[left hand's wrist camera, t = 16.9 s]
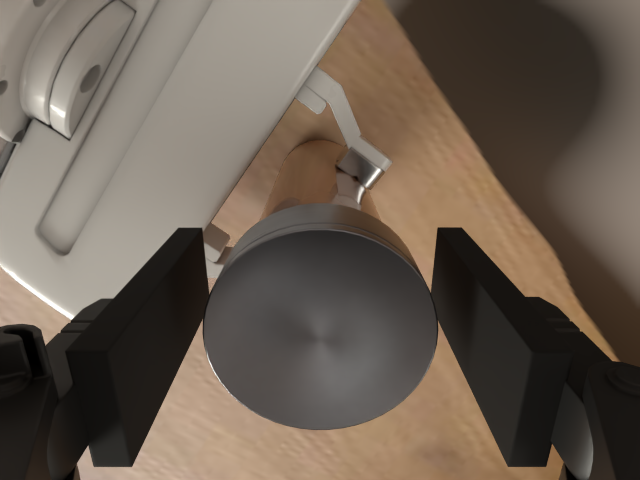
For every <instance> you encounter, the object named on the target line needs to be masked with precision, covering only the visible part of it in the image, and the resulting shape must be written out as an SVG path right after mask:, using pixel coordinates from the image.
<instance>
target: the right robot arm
mask: <svg viewBox="0 0 640 480" xmlns="http://www.w3.org/2000/svg"><path fill="white" fill-rule="evenodd" d="M360 1H361V0H0V267H1V268H2V269H3V270H4V271H5V272H6V273H7V274H8V275H10V276H11V277H12V278H13V279H14V280H15V281H17V282H18V283H19V284H21V285H22V286H23V287H25V288H26V289H27V290H29V291H30V292H31V293H32V294H34V295H35V296H37V297H38V298H39V299H41V300H42V301H44V302H45V303H46V304H48V305H49V306H50V307H52V308H53V309H55V310H56V311H58V312H59V313H61V314H62V315H64V316H65V317H67V318H68V319H70V320H72V319H73V318H74V317H75V316H76V315H77V314H78V313H79V312H80V311H81V310H82V309H83V308H85V307H87V306H89V305H90V304H92V303H94V302H96V301H98V300H99V299H101V298H114V297H115V296H116V295H117V294H118V293H119V292H120V291H121V290H122V288H123V287H124V286H125V285H126V284H127V283H128V282H129V281H130V280H131V279H132V278H133V276H134V275H135V274H136V273H137V272H138V271H139V270H140V269H141V268H142V267H143V266H144V264H145V263H146V262H147V261H148V260H149V259H150V258H151V257H152V256H153V255H154V254H155V253H156V251H157V250H158V249H159V248H160V247H161V246H162V245H163V244H164V243H165V242H166V241H167V239H168V238H169V237H170V236H171V235H172V234H173V233H174V232H175V231H176V230H177V229H178V228H202V229H203V239H204V249H205V259H206V268H207V277H209V278H218V276H219V274H220V272H221V270H222V268H223V266H224V264H225V262H226V260H227V258H228V256H229V255H230V253H231V251H232V249H233V248H234V247H226V245H227V243H228V241H229V239H230V236H229V235H228V234H227V233H225V232H224V231H222V230H221V229H219V228H218V227H216V226H215V225H213V224H212V223H211V221H212V220H213V218H214V217H215V215H216V214H217V212H218V211H219V209H220V208H221V207H222V205H223V204H224V202H225V201H226V199H227V198H228V196H229V195H230V193H231V192H232V190H233V189H234V187H235V186H236V184H237V183H238V181H239V180H240V178H241V177H242V176H243V174H244V173H245V171H246V170H247V168H248V167H249V165H250V164H251V162H252V161H253V159H254V158H255V156H256V155H257V153H258V152H259V150H260V149H261V148H262V146H263V145H264V143H265V142H266V140H267V139H268V137H269V136H270V134H271V133H272V131H273V130H274V128H275V127H276V125H277V124H278V122H279V121H280V119H281V118H282V117H283V115H284V114H285V112H286V111H287V109H288V108H289V106H290V105H291V103H292V102H293V100H294V99H295V98H296V99H297V100H298V101H300V102H301V103H302V104H304V105H305V106H307V107H308V108H309V109H311V110H312V111H313V112H315V113H316V114H320V113H322V111H323V110H324V108H325V107H326V102H328V103H329V104H330V107H331V109H332V111H333V114H334V116H335V118H336V121H337V123H338V125H339V128H340V130H341V133H342V135H343V137H344V140H345V142H346V145H345V147H344V148H343V149H342V151H341V152H340V154H339V155H338V156H337V158H336V162H337V167H339V168H340V169H341V170H343V171H344V172H345V173H347V174H348V175H350V176H357V178H358V181H359V182H360V183H361V184H362V185H363V186H364V187H366V188H367V189H370V190H371V189H372V187H373V186H374V185H375V184H376V183H377V181H378V180H379V179H380V178H381V176H382V175H383V174H384V173H385V171H386V170H387V169H388V168H389V166H390V165H391V164H392V163H393V162H392V160H391V159H390V158H389V157H388V156H387V155H386V154H385V153H384V152H382V151H381V150H380V149H379V148H377V147H376V146H375V145H373V144H372V143H371V142H369V141H368V140H367V139H366V138H364V137H363V136H362V135H361V133H360V130H359V128H358V125H357V123H356V120H355V118H354V115H353V113H352V110H351V108H350V105H349V103H348V100H347V98H346V95H345V93H344V90H343V88H342V86H341V85H340V84H339V83H338V82H336V81H335V80H334V79H333V78H331V77H330V76H329V75H328V74H326V73H325V72H324V71H323V70H321V69H320V68H319V67H318V66H317V65H318V63H319V62H320V60H321V59H322V57H323V56H324V55H325V53H326V52H327V50H328V49H329V47H330V46H331V44H332V43H333V41H334V40H335V38H336V37H337V35H338V34H339V32H340V31H341V29H342V28H343V27H344V25H345V24H346V22H347V21H348V19H349V18H350V16H351V15H352V13H353V12H354V10H355V9H356V7H357V6H358V4H359V3H360Z"/></svg>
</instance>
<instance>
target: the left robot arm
mask: <svg viewBox="0 0 640 480" xmlns="http://www.w3.org/2000/svg"><path fill="white" fill-rule="evenodd" d="M431 295H432V298H433V301H434V303H435V308H436V312H437V317H438V321H439V323H440V326H441V328H442V330H443V332H444V334H445V336H446V338H447V340H448V342H449V344H450V346H451V349H452V351H453V353H454V355H455V357H456V359H457V361H458V363H459V365H460V367H461V369H462V372H463V374H464V376H465V378H466V380H467V382H468V384H469V386H470V388H471V390H472V392H473V395H474V397H475V399H476V401H477V403H478V405H479V407H480V409H481V411H482V413H483V415H484V418H485V420H486V422H487V424H488V426H489V428H490V430H491V432H492V434H493V436H494V439H495V441H496V443H497V445H498V447H499V449H500V451H501V453H502V455H503V457H504V459H505V462H506V464H507V466H508V467H546V465H547V461H548V457H549V453H550V449H551V445H552V444H553V445H554V447H555V449H556V450H557V452H558V453H559V455H560V457H561V458H562V460H563V461H564V463H563V466H562V470H561V474H560V478H559V480H640V367H637V366H634V365H630V364H627V363H623V362H615V361H612V360H611V359H610V358H609V357H608V356H607V355H606V354H605V353H604V352H602V351H601V350H600V349H599V348H598V347H597V346H596V345H595V344H594V343H593V342H592V341H591V340H590V339H589V338H588V337H587V336H586V335H585V334H584V333H583V332H580V329H579V328H578V327H577V326H576V325H575V324H574V323H573V322H572V321H570V319H569V318H568V317H567V316H566V315H565V314H564V313H563V312H562V311H561V310H560V309H559V308H558V307H556V306H554V305H553V304H551V303H549V302H547V301H545V300H544V299H542V298H540V297H525V296H524V295H523V294H522V293H521V292H520V291H519V290H518V288H517V287H516V286H515V285H514V284H513V283H512V282H511V281H510V280H509V279H508V278H507V276H506V275H505V274H504V273H503V272H502V271H501V270H500V269H499V268H498V267H497V266H496V264H495V263H494V262H493V261H492V260H491V259H490V258H489V257H488V256H487V255H486V254H485V253H484V251H483V250H482V249H481V248H480V247H479V246H478V245H477V244H476V243H475V242H474V241H473V239H472V238H471V237H470V236H469V235H468V234H467V233H466V232H465V231H464V230H463V229H462V228H438V229H437V239H436V249H435V259H434V268H433V278H432V288H431ZM208 298H209V288H208V278H207V268H206V259H205V249H204V239H203V229H202V228H178V229H177V230H176V231H175V232H174V233H173V234H172V235H171V236H170V237H169V238H168V239H167V241H166V242H165V243H164V244H163V245H162V246H161V247H160V248H159V249H158V250H157V251H156V253H155V254H154V255H153V256H152V257H151V258H150V259H149V260H148V261H147V262H146V263H145V264H144V266H143V267H142V268H141V269H140V270H139V271H138V272H137V273H136V274H135V275H134V276H133V278H132V279H131V280H130V281H129V282H128V283H127V284H126V285H125V286H124V287H123V288H122V290H121V291H120V292H119V293H118V294H117V295H116V296H115V297H114V298H101V299H99V300H98V301H96V302H94V303H92V304H90V305H89V306H87V307H85V308H83V309H82V310H81V311H80V312H79V313H78V314H77V315H76V316H75V317H74V318H73V319H72V320H71V323H68V324H67V325H66V326H65V327H64V328H63V329H62V330H61V333H58V334H57V335H56V336H55V337H54V338H53V339H52V340H51V341H50V342H49V343H48V344H47V345H46V346H45V343H44V339H43V336H42V332H41V330H40V329H39V328H37V327H36V326H34V325H27V324H16V325H6V326H2V327H0V480H80V475H79V470H78V466H77V462H78V461H79V459H80V457H81V456H82V454H83V453H84V451H85V449H86V448H87V446H88V445H89V449H90V454H91V458H92V462H93V466H94V467H132V466H133V464H134V462H135V459H136V457H137V455H138V453H139V451H140V449H141V447H142V445H143V443H144V441H145V438H146V436H147V434H148V432H149V430H150V428H151V426H152V424H153V422H154V420H155V418H156V415H157V413H158V411H159V409H160V407H161V405H162V403H163V401H164V399H165V397H166V395H167V392H168V390H169V388H170V386H171V384H172V382H173V380H174V378H175V376H176V374H177V372H178V369H179V367H180V365H181V363H182V361H183V359H184V357H185V355H186V353H187V351H188V349H189V346H190V344H191V342H192V340H193V338H194V336H195V334H196V332H197V330H198V328H199V326H200V323H201V321H202V319H203V317H204V311H205V306H206V303H207V300H208Z"/></svg>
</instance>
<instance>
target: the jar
mask: <svg viewBox="0 0 640 480" xmlns="http://www.w3.org/2000/svg"><path fill="white" fill-rule="evenodd" d="M343 148H344V147H343V146H341V145H339V144H337V143H334V142H331V141H327V140H314V141H309V142H306V143H304V144H301V145H300V146H298V147H296V148H295V149H294V150H293V151H292V152H291V153H290V154H289V155H288V156H287V158H286V159H285V161H284V163H283V165H282V167H281V169H280V172H279V174H278V177H277V179H276V182H275V184H274V186H273V189H272V191H271V194H270V196H269V199H268V201H267V203H266V206H265V208H264V211H263V213H262V216H261V218H260V220H259V221H261V220H263V219H264V218H266V217H268V216H269V215H271V214H273V213H276V212H278V211H281V210H283V209H286V208H290V207H293V206H297V205H304V204H311V203H329V204H338V205H343V206H347V207H351V208H355V209H357V210H360V211H363V212H365V213H367V214H369V215H371V216H373V217H375V218H377V219H379V220H380V221H381V219H380V217H379V214H378V212H377V210H376V207H375V205H374V202H373V200H372V198H371V195H370V193H369V190H368V189H367V188H366V187H364V186H363V185H362V184H361V183H360V182H359V181H358V178H357V176H350V175H348V174H347V173H345V172H344V171H343V170H341V169H340V168H339V167H337V162H336V158H337V156H338V155H339V154H340V152H341V151H342V149H343Z"/></svg>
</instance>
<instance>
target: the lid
mask: <svg viewBox="0 0 640 480" xmlns="http://www.w3.org/2000/svg"><path fill="white" fill-rule="evenodd" d="M437 338H438V317H437V312H436V308H435V303H434V301H433V298H432V295H431V293H430V290H429V288H428V286H427V285H426V282H425V280H424V278H423V276H422V274H421V273H420V271H419V269H418V267H417V265H416V263H415V261H414V259H413V257H412V255H411V253H410V251H409V250H408V248H407V246H406V245H405V244H404V242H403V241H402V240H401V239H400V237H399V236H398V235H397V234H396V233H395V232H394V231H393V230H392V229H391V228H389V227H388V226H387V225H385V224H384V223H383V222H381V221H380V220H379V219H377V218H375V217H373V216H371V215H369V214H367V213H365V212H363V211H360V210H357V209H355V208H351V207H347V206H343V205H338V204H329V203H311V204H304V205H297V206H293V207H290V208H286V209H283V210H281V211H278V212H276V213H273V214H271V215H269V216H268V217H266V218H264V219H263V220H261V221H259V222H258V223H257V224H255V225H254V226H253V227H251V228H250V229H249V230H248V231H247V232H246V233H245V234H244V235H243V236H242V237H241V238H240V239H239V241H238V242H237V243H236V245H235V246H234V248H233V249H232V251H231V253H230V255H229V256H228V258H227V260H226V262H225V264H224V266H223V268H222V270H221V272H220V274H219V276H218V278H217V280H216V282H215V284H214V286H213V288H212V290H211V292H210V295H209V298H208V300H207V303H206V306H205V311H204V317H203V340H204V347H205V350H206V354H207V357H208V360H209V363H210V365H211V367H212V369H213V371H214V373H215V375H216V376H217V378H218V379H219V381H220V383H221V384H222V385H223V386H224V387H225V389H226V390H227V391H228V392H229V393H230V394H231V395H232V396H233V397H234V398H235V399H236V400H237V401H238V402H240V403H241V404H242V405H244V406H245V407H247V408H248V409H249V410H251V411H253V412H254V413H256V414H258V415H260V416H261V417H264V418H266V419H268V420H271V421H273V422H276V423H279V424H283V425H286V426H290V427H295V428H300V429H310V430H331V429H340V428H346V427H350V426H355V425H358V424H361V423H364V422H367V421H370V420H372V419H375V418H377V417H379V416H381V415H383V414H385V413H386V412H388V411H390V410H391V409H393V408H394V407H396V406H397V405H398V404H400V403H401V402H402V401H404V400H405V399H406V398H407V397H408V396H409V395H410V394H411V393H412V392H413V391H414V390H415V388H416V387H417V386H418V385H419V383H420V382H421V381H422V379H423V378H424V376H425V374H426V372H427V371H428V369H429V367H430V364H431V362H432V359H433V357H434V353H435V349H436V345H437Z"/></svg>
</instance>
